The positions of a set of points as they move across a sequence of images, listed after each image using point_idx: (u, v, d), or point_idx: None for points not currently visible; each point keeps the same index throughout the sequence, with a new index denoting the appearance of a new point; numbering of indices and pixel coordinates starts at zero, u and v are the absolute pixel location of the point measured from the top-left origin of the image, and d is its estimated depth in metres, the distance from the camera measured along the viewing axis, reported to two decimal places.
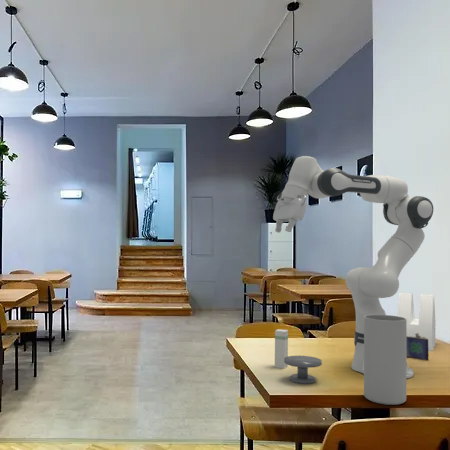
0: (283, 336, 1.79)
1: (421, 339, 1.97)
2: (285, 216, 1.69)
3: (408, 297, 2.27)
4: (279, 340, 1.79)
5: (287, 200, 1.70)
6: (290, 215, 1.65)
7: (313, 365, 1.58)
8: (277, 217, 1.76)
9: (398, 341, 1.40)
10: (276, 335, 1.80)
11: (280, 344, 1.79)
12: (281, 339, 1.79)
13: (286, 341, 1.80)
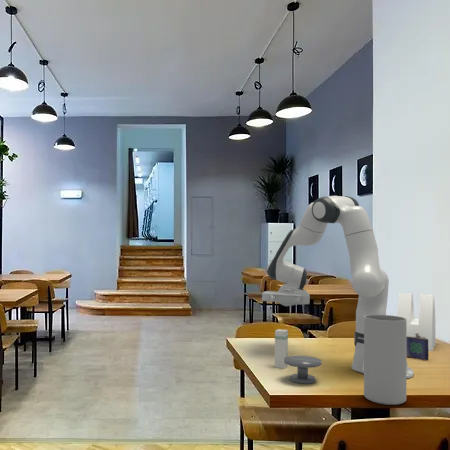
0: (283, 336, 1.79)
1: (421, 339, 1.97)
2: (279, 301, 1.98)
3: (408, 297, 2.27)
4: (279, 340, 1.79)
5: None
6: None
7: (313, 365, 1.58)
8: (297, 303, 1.97)
9: (398, 341, 1.40)
10: (276, 335, 1.80)
11: (280, 344, 1.79)
12: (281, 339, 1.79)
13: (286, 341, 1.80)
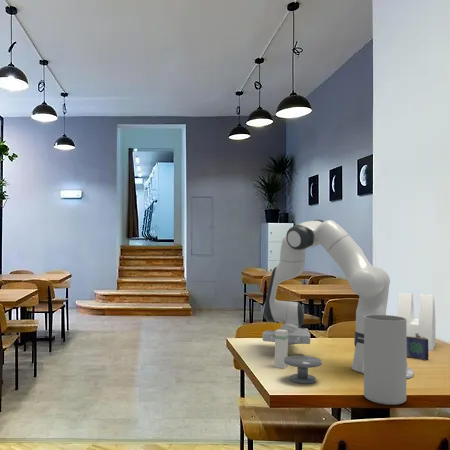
0: (283, 336, 1.79)
1: (421, 339, 1.97)
2: None
3: (408, 297, 2.27)
4: (279, 340, 1.79)
5: None
6: (270, 341, 1.98)
7: (313, 365, 1.58)
8: (298, 343, 1.95)
9: (398, 341, 1.40)
10: (276, 335, 1.80)
11: (280, 344, 1.79)
12: (281, 339, 1.79)
13: (286, 341, 1.80)
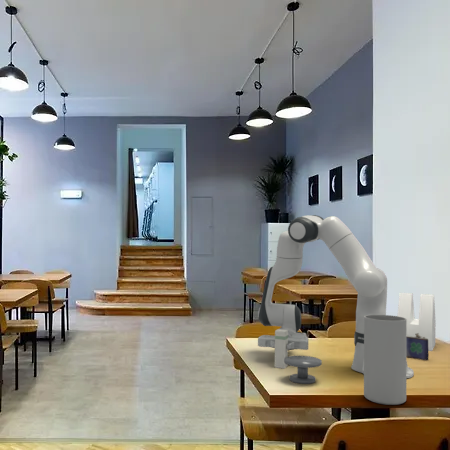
0: (283, 336, 1.79)
1: (421, 339, 1.97)
2: None
3: (408, 297, 2.27)
4: (279, 340, 1.79)
5: None
6: (266, 346, 1.87)
7: (313, 365, 1.58)
8: None
9: (398, 341, 1.40)
10: (276, 335, 1.80)
11: (280, 344, 1.79)
12: (281, 339, 1.79)
13: (286, 341, 1.80)
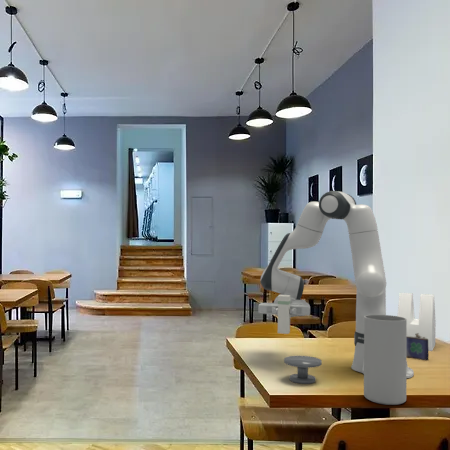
0: (287, 301, 1.75)
1: (421, 339, 1.97)
2: None
3: (408, 297, 2.27)
4: (283, 305, 1.76)
5: None
6: (266, 313, 1.83)
7: (313, 365, 1.58)
8: (297, 314, 1.81)
9: (398, 341, 1.40)
10: (279, 300, 1.76)
11: (283, 309, 1.76)
12: (284, 304, 1.76)
13: (289, 306, 1.77)
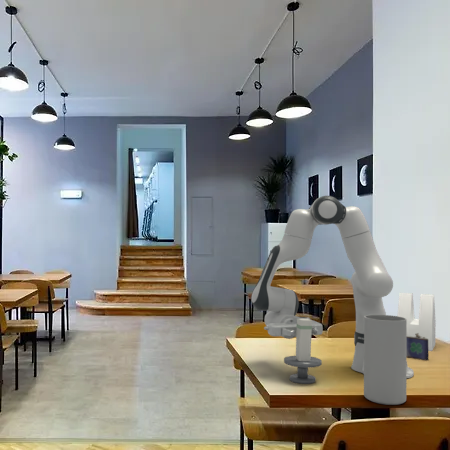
0: (310, 326, 1.62)
1: (421, 339, 1.97)
2: None
3: (408, 297, 2.27)
4: (305, 330, 1.62)
5: None
6: None
7: (313, 365, 1.58)
8: None
9: (398, 341, 1.40)
10: (302, 325, 1.62)
11: (306, 334, 1.62)
12: (307, 329, 1.62)
13: None
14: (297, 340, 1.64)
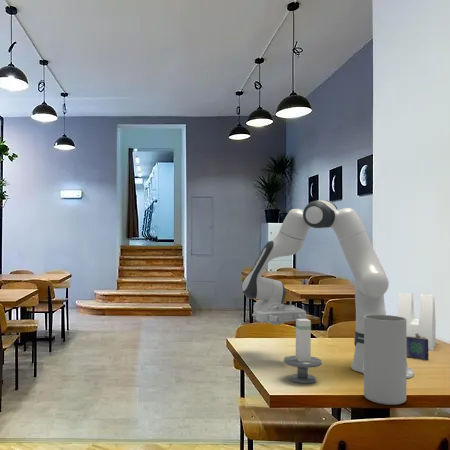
0: (309, 326, 1.62)
1: (421, 339, 1.97)
2: None
3: (408, 297, 2.27)
4: (305, 330, 1.62)
5: (273, 321, 1.87)
6: (267, 321, 1.80)
7: (313, 365, 1.58)
8: (294, 320, 1.84)
9: (398, 341, 1.40)
10: (301, 325, 1.62)
11: (305, 335, 1.62)
12: (306, 329, 1.62)
13: None
14: (297, 340, 1.64)
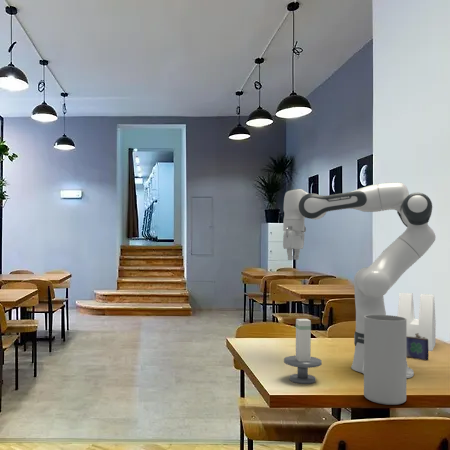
0: (309, 326, 1.62)
1: (421, 339, 1.97)
2: None
3: (408, 297, 2.27)
4: (305, 330, 1.62)
5: None
6: None
7: (313, 365, 1.58)
8: None
9: (398, 341, 1.40)
10: (301, 325, 1.62)
11: (305, 335, 1.62)
12: (306, 329, 1.62)
13: None
14: (297, 340, 1.64)
